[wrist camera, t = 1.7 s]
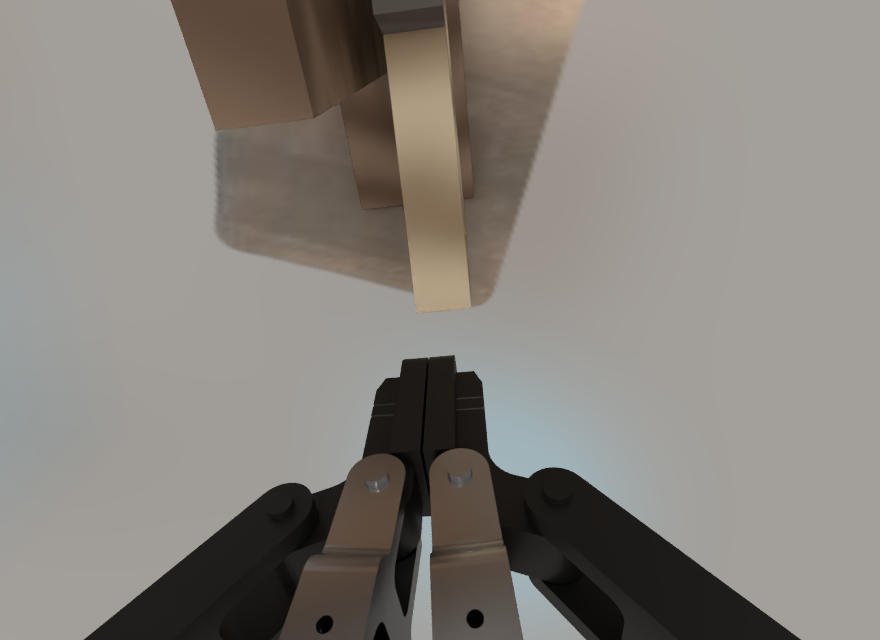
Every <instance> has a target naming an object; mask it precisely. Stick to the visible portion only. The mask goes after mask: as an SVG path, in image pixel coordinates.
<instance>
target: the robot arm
mask: <svg viewBox="0 0 880 640" xmlns="http://www.w3.org/2000/svg"><path fill="white" fill-rule="evenodd" d="M371 416H372V418H371V420H370V425H369V429H368V434H367V439H366V444H365V448H364V453H363V458H362V460H360V461H359V462H357V463H356V464H355V465H354V466H353V468H352V469H351V470H350V472H349V474H348V476H347V479H346V480H345V481H344V482H342V483H340V484H339V485H336V486H334V487H331V488H328V489H325V490H322V491H319V492H316V493H313V494H311V492H310V490H309V489H308V488H307V487H306V486H304V485H302V484H298V483H286V484H282V485H279V486H276V487H274V488H272V489H270V490H269V491H267V492H266V493H265V494H263V495H262V496H261V497H260V498H259V499H257V500H256V501H255V502H253V503H252V504H251V505H250V506H248V507H247V508H246V509H245V510H243V511H242V512H241V513H240V514H239V515H238V516H236V517H235V518H234V519H232V520H231V521H230V522H229V523H228V524H226V525H225V526H224V527H222V528H221V529H220V530H219V531H218V532H216V533H215V534H214V535H213V536H211V537H210V538H209V539H208V540H207V541H205V542H204V543H203V544H202V545H200V546H199V547H198V548H197V549H195V550H194V551H193V552H192V553H190V554H189V555H188V556H187V557H186V558H184V559H183V560H182V561H180V562H179V563H178V564H177V565H176V566H175V567H173V568H172V569H171V570H169V571H168V572H167V573H166V574H164V575H163V576H162V577H161V578H159V579H158V580H157V581H156V582H155V583H153V584H152V585H151V586H150V587H148V588H147V589H146V590H145V591H143V592H142V593H141V594H140V595H138V596H137V597H136V598H135V599H134V600H132V601H131V602H130V603H129V604H127V605H126V606H125V607H124V608H122V609H121V610H120V611H119V612H117V613H116V614H115V615H114V616H113V617H111V618H110V619H109V620H108V621H106V622H105V623H104V624H103V625H101V626H100V627H99V628H98V629H96V630H95V631H94V632H93V633H92V634H90V635H89V636H88V637H87V638H85V639H84V640H411V623H412V615H413V607H414V600H415V592H416V585H417V578H418V571H419V563H420V556H421V548H422V542H421V530H422V516H431V526H432V553H431V554H430V580H431V609H432V633H433V634H432V635H433V636H432V637H433V640H523V636H522V630H521V625H520V620H519V614H518V609H517V604H516V598H515V593H514V587H513V582H512V577H511V571H514V572H517V573H521V574H524V575H528V576H529V578H530V580H531V582H532V583H533V585H534V586H535V587H536V588H537V589H538V590H539V591H540V592H541V593H542V594H543V595H544V596H545V597H546V598H547V599H548V600H549V601H550V603H552V605H553V606H554V607H555V608H556V609H557V610H558V611H559V612H560V613H561V614H562V615H563V616H564V617H565V618H566V619H567V620H568V621H569V622H570V623H571V624H572V625H573V626H574V627H575V628H576V629H577V631H578V632H579V633H581V635H582V636H583V637H584V638H585V639H586V640H800V639H799V638H798V637H796V636H795V635H794V634H792V633H791V632H790V631H788V630H787V629H786V628H784V627H783V626H782V625H780V624H779V623H777V622H776V621H775V620H773V619H772V618H771V617H769V616H768V615H767V614H765V613H764V612H763V611H761V610H760V609H759V608H757V607H756V606H754V605H753V604H752V603H750V602H749V601H748V600H746V599H745V598H743V597H742V596H741V595H740V594H738V593H737V592H735V591H734V590H733V589H731V588H730V587H729V586H727V585H726V584H725V583H723V582H722V581H721V580H719V579H718V578H716V577H715V576H713V574H711V573H710V572H708V571H707V570H705V569H704V568H703V567H701V566H700V565H699V564H698V563H696V562H695V561H694V560H692V559H691V558H690V557H688V556H687V555H685V554H684V553H683V552H681V551H680V550H679V549H677V548H676V547H674V546H673V545H672V544H670V543H669V542H668V541H666V540H665V539H664V538H662V537H661V536H660V535H658V534H657V533H655V532H654V531H653V530H651V529H650V528H649V527H648V526H646V525H645V524H643V523H642V522H640V521H639V520H638V519H637V518H635V517H634V516H633V515H631V514H630V513H629V512H627V511H626V510H625V509H623V508H622V507H620V506H619V505H618V504H616V503H615V502H614V501H612V500H611V499H610V498H608V497H607V496H605V495H604V494H603V493H601V492H600V491H599V490H597V489H596V488H595V487H593V486H592V485H591V484H589V483H588V482H587V481H585V480H584V479H583V478H581V477H580V476H578V475H577V474H575V473H574V472H571V471H569V470H566V469H563V468H545V469H541V470H539V471H537V472H535V473H534V474H533V475H531V477H529V478H525V477H521V476H516V475H513V474H509V473H507V472H505V471H503V470H501V469H500V468H499V467H498V466H496V465H495V463H494V462H493V461H492V459H491V458H490V455H489V452H488V443H487V432H486V421H485V409H484V398H483V387H482V382H481V380H480V379H479V378H478V376H477V375H476V374H475V372H474V371H472V372H459V373H457V370H456V361H455V356H454V355H452V356H440V357H430V358H429V359H428V358H417V359H405V360H403V361H402V366H401V373H400V377H397V378H387V379H385V381H384V382H383V383H382V385H381V386H380V387H379V388H378V389H377V391H376V396H375V400H374V407H373V410H372V415H371ZM510 570H511V571H510Z"/></svg>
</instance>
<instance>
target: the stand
mask: <svg viewBox="0 0 880 640" xmlns="http://www.w3.org/2000/svg"><path fill="white" fill-rule="evenodd" d="M171 2H172V5H173V8H174V10H175V13H176V16H177V19H178V22H179V25H180V28H181V31H182V34H183V37H184V40H185V43H186V46H187V48H188V51H189V54H190V57H191V60H192V63H193V66H194V69H195V72H196V74H197V77H198V80H199V83H200V86H201V89H202V92H203V95H204V98H205V100H206V103H207V107H208V109H209V112H210V115H211V118H212V121H213V124H214V127H215V130H216V131H218V130H226V129H234V128H242V127H250V126H258V125H266V124H274V123H282V122H290V121H297V120H305V119H313V118H315V117H317V116H319V115H320V114H322V113H323V112H325V111H327V110H328V109H330V108H331V107H333V106H335V105H336V104H338V103H339V102H340V106H341V110H342V115H343V120H344V125H345V129H346V134H347V139H348V144H349V149H350V153H351V158H352V163H353V168H354V173H355V177H356V182H357V187H358V192H359V197H360V201H361V206H362V209H371V208H380V207H389V206H398V205H403V196H402V188H401V180H400V171H399V163H398V155H397V146H396V138H395V129H394V121H393V113H392V104H391V96H390V88H389V79H388V71H387V62H386V54H385V46H384V37H383V33H382V31H381V29H380V27H379V25H378V23H377V21H376V19H375V17H374V15H373V6H372V0H171ZM445 3H446V14H447V25H448V36H449V47H450V58H451V69H452V80H453V91H454V102H455V113H456V124H457V135H458V146H459V157H460V168H461V179H462V190H463V198H471V197H474V188H473V176H472V164H471V151H470V139H469V126H468V114H467V101H466V89H465V76H464V64H463V52H462V39H461V27H460V14H459V2H458V0H445Z"/></svg>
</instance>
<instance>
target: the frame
mask: <svg viewBox="0 0 880 640" xmlns="http://www.w3.org/2000/svg"><path fill="white" fill-rule="evenodd" d="M372 6H373V15H374V17H375V19H376V21H377V23H378V25H379V27H380V29H381V31H382V33H383V37H384V46H385V54H386V62H387V71H388V79H389V88H390V96H391V104H392V113H393V121H394V129H395V138H396V146H397V155H398V163H399V171H400V180H401V188H402V196H403V205H404V213H405V222H406V230H407V238H408V247H409V255H410V263H411V272H412V280H413V289H414V297H415V305H416V313H427V312H438V311H449V310H459V309H471V294H470V270H469V256H468V245H467V234H466V223H465V212H464V201H463V190H462V179H461V168H460V157H459V146H458V135H457V124H456V113H455V102H454V91H453V80H452V69H451V58H450V47H449V36H448V25H447V14H446V3H445V0H372Z"/></svg>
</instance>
